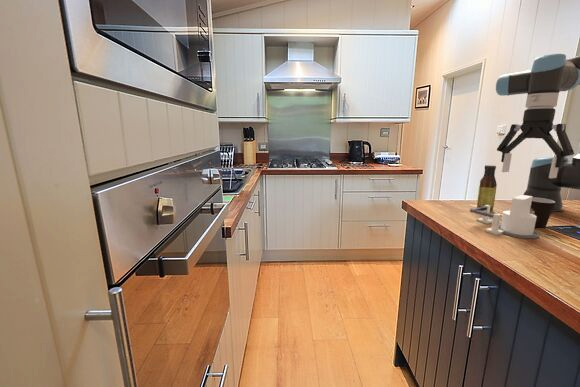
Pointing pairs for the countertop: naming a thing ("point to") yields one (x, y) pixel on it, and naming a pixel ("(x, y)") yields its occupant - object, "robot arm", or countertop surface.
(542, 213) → the coffee mug
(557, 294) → the countertop surface
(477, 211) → the bent wire
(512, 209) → the base with upright slab
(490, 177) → the sauce bottle
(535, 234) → the coaster
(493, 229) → the wire posts
